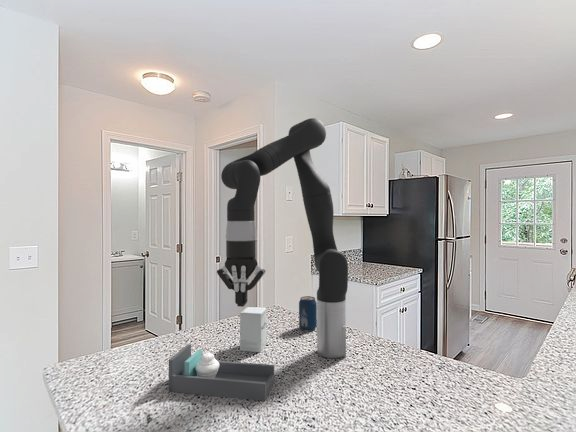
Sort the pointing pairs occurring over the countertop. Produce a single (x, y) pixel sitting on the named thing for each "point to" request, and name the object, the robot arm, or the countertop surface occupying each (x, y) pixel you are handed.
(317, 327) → the robot arm
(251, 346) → the supplement box
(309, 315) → the soda can
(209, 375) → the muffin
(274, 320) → the countertop surface
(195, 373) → the teal flat slab
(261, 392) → the pusher lane
